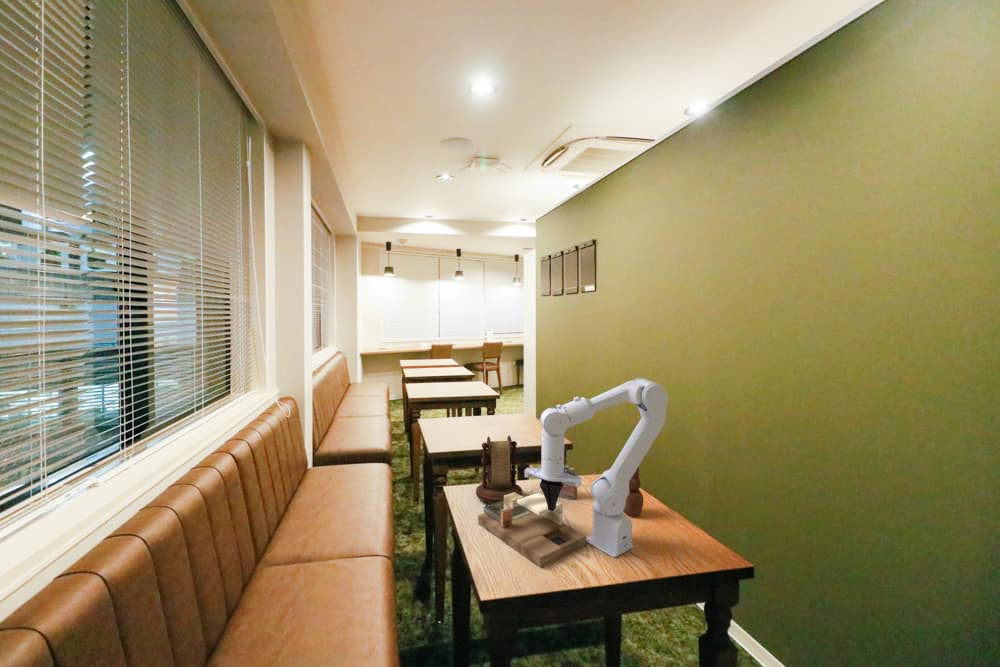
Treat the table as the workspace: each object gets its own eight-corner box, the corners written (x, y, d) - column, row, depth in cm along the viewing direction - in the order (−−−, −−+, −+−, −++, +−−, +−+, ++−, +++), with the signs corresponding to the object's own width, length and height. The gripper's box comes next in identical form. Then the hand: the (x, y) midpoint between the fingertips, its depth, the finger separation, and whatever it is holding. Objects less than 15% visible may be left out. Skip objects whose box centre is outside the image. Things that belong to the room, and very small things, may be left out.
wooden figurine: (646, 517, 124) (648, 466, 123) (630, 520, 122) (632, 469, 121) (631, 507, 130) (632, 459, 129) (616, 510, 128) (617, 461, 127)
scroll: (479, 510, 127) (480, 444, 126) (473, 489, 142) (473, 430, 141) (527, 506, 130) (528, 442, 129) (516, 486, 145) (516, 428, 144)
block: (523, 510, 122) (523, 496, 122) (512, 514, 120) (512, 500, 119) (514, 505, 125) (514, 492, 125) (503, 509, 123) (503, 495, 123)
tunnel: (586, 545, 109) (586, 514, 108) (540, 567, 99) (540, 534, 98) (521, 508, 129) (521, 482, 128) (478, 523, 119) (478, 495, 119)
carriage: (535, 515, 119) (535, 501, 118) (502, 527, 112) (503, 512, 111) (512, 502, 127) (512, 488, 127) (480, 512, 120) (480, 499, 120)
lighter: (579, 497, 137) (579, 466, 136) (575, 501, 134) (575, 470, 134) (556, 491, 141) (556, 462, 141) (551, 495, 138) (552, 465, 138)
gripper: (585, 456, 108) (584, 508, 109) (532, 447, 114) (531, 497, 115) (577, 465, 102) (576, 520, 102) (521, 455, 108) (521, 507, 109)
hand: (551, 509), depth 108 cm, fingers closed
